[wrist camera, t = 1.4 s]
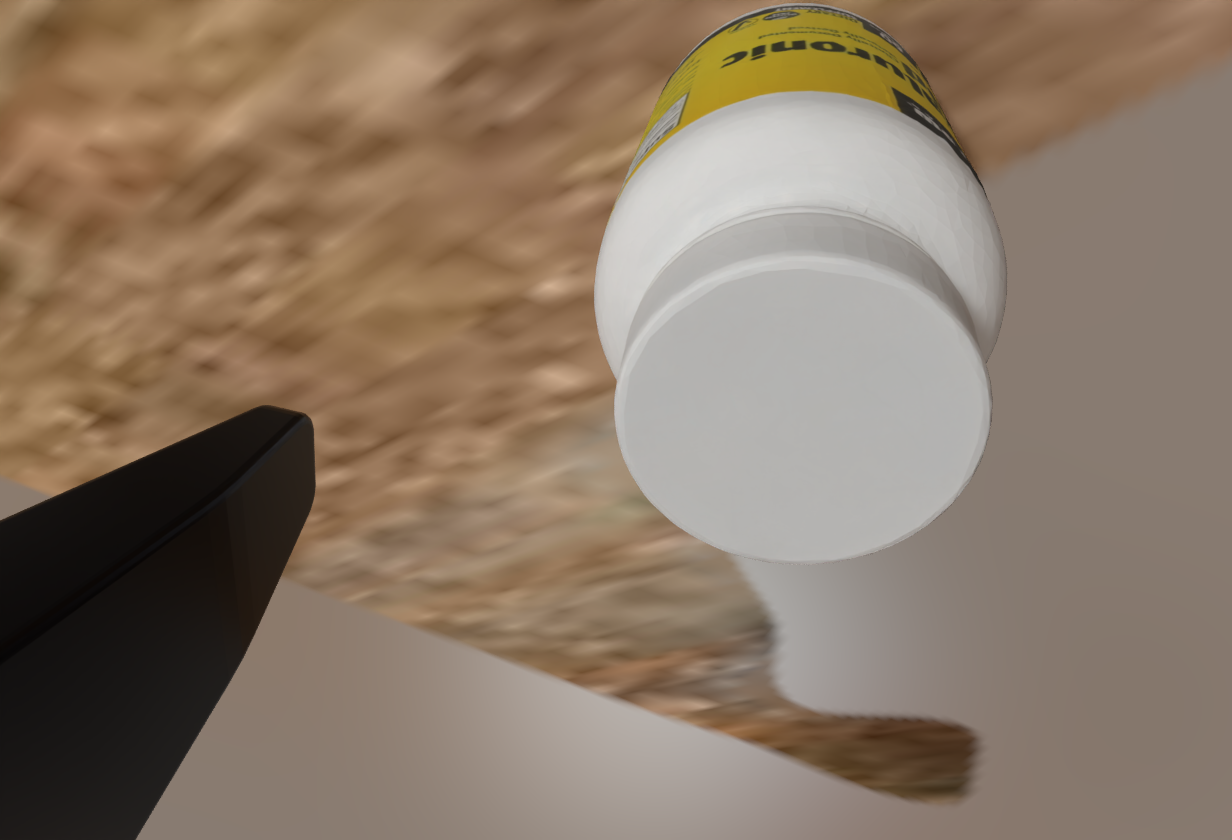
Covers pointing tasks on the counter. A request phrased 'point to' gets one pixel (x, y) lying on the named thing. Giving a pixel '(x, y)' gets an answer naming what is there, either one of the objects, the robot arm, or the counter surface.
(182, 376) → the counter surface
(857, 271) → the supplement bottle
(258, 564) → the robot arm
